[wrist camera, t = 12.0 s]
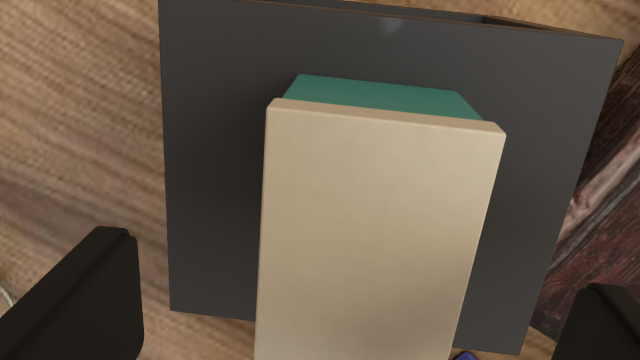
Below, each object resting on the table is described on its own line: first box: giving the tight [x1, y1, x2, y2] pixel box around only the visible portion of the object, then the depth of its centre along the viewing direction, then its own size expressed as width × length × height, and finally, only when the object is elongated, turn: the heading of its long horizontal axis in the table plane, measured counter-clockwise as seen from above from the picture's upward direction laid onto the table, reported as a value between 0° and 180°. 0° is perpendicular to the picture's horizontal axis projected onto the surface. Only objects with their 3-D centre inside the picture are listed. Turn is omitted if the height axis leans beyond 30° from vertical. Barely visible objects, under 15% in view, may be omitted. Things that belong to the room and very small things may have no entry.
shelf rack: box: [158, 0, 624, 356], centre depth 22 cm, size 14×12×13 cm
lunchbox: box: [254, 74, 506, 360], centre depth 14 cm, size 8×5×5 cm, turn 174°
